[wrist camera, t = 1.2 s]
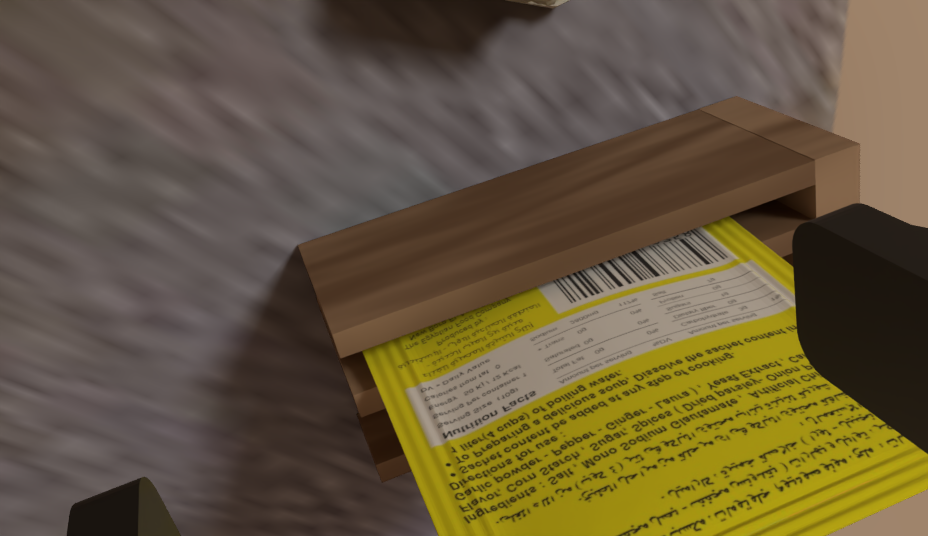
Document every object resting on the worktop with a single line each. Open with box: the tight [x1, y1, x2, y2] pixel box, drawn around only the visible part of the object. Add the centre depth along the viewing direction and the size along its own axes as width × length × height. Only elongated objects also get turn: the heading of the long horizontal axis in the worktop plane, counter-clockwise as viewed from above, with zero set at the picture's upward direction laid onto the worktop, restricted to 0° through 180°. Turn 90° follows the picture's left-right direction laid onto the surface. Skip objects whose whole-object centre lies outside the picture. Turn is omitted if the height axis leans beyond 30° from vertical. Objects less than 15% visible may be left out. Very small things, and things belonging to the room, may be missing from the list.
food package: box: [362, 216, 928, 536], centre depth 30 cm, size 15×1×20 cm, turn 103°
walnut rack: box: [298, 96, 860, 482], centre depth 37 cm, size 10×21×8 cm, turn 103°
